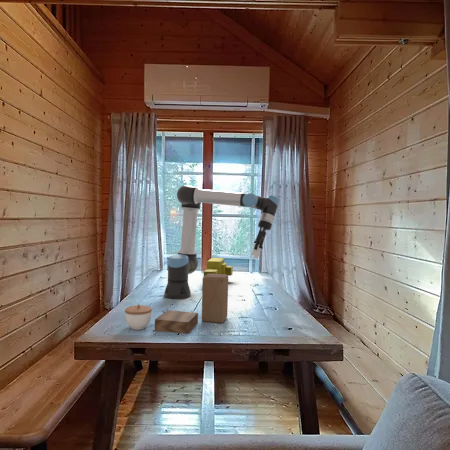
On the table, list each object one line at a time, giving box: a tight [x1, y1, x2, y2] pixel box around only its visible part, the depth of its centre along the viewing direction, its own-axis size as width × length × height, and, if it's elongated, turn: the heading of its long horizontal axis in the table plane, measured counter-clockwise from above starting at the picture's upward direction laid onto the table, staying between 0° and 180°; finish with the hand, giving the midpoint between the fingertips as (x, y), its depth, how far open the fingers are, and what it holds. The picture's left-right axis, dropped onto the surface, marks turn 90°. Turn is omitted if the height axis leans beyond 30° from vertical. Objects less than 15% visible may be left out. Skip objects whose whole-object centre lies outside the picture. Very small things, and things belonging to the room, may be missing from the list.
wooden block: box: [201, 274, 229, 324], centre depth 154 cm, size 10×10×20 cm
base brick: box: [154, 309, 199, 335], centre depth 143 cm, size 14×14×5 cm
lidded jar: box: [124, 303, 153, 331], centre depth 141 cm, size 11×11×9 cm
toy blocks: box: [203, 257, 234, 277], centre depth 239 cm, size 35×16×16 cm
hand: (254, 257), depth 194 cm, fingers open, 13 cm apart
